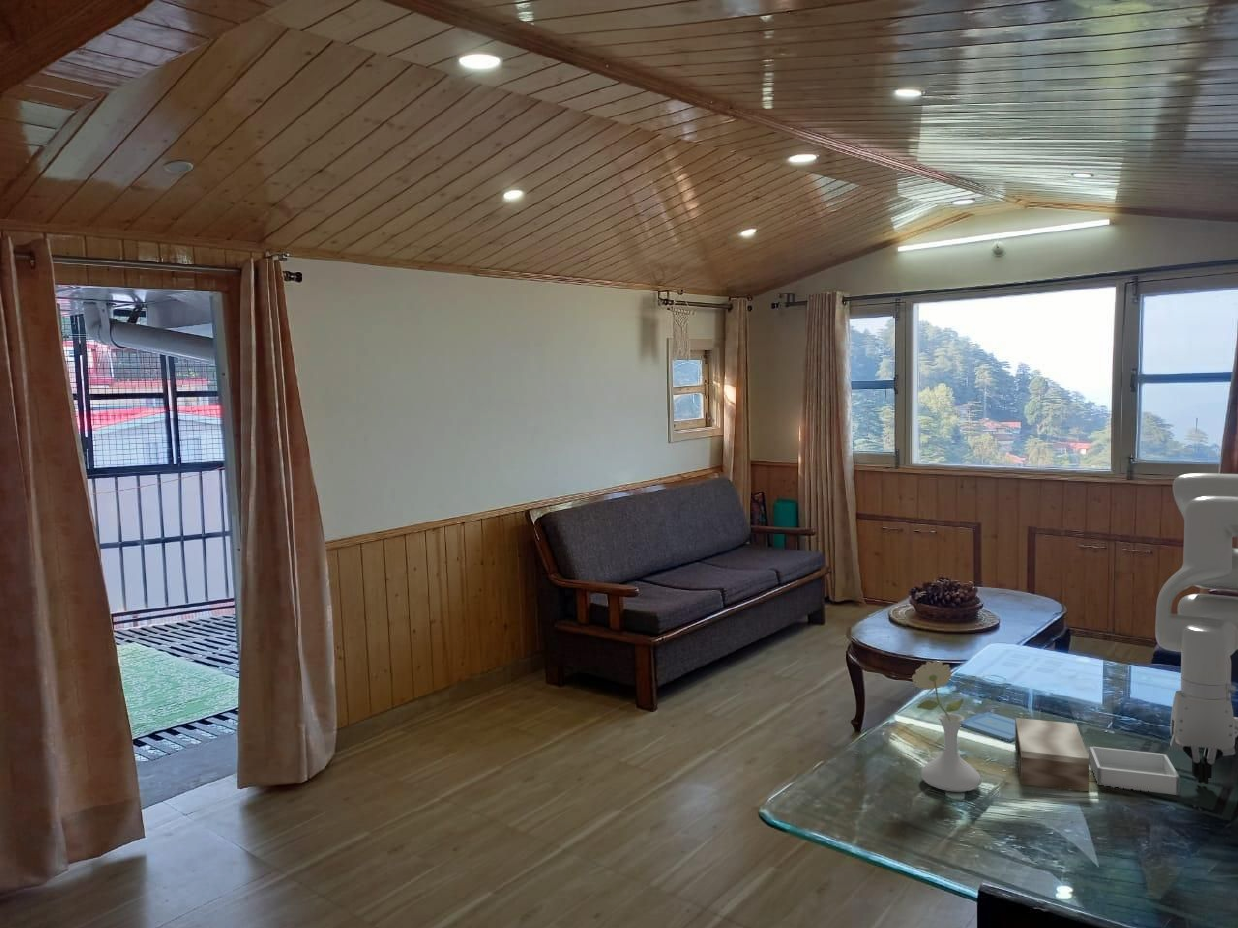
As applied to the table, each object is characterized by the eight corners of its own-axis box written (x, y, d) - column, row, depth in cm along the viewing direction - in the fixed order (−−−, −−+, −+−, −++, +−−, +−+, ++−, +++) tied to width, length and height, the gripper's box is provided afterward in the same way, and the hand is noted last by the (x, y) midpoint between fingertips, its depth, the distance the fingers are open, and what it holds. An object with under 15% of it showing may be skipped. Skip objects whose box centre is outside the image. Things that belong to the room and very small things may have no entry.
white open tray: (1165, 770, 180) (1166, 754, 180) (1179, 795, 169) (1180, 777, 169) (1089, 762, 185) (1089, 746, 185) (1097, 785, 174) (1097, 768, 174)
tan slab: (1076, 754, 190) (1076, 723, 189) (1089, 792, 171) (1089, 758, 171) (1015, 747, 194) (1015, 717, 194) (1021, 783, 175) (1021, 750, 175)
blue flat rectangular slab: (1040, 732, 204) (1040, 727, 204) (1009, 744, 197) (1009, 738, 197) (988, 716, 215) (988, 711, 215) (957, 726, 209) (957, 721, 209)
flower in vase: (979, 777, 179) (980, 656, 178) (983, 800, 168) (984, 672, 167) (912, 769, 183) (912, 651, 182) (911, 792, 173) (911, 666, 171)
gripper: (1243, 686, 173) (1240, 778, 174) (1155, 679, 178) (1153, 768, 179) (1255, 698, 166) (1252, 793, 167) (1163, 691, 171) (1161, 783, 172)
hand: (1201, 780), depth 173 cm, fingers closed
